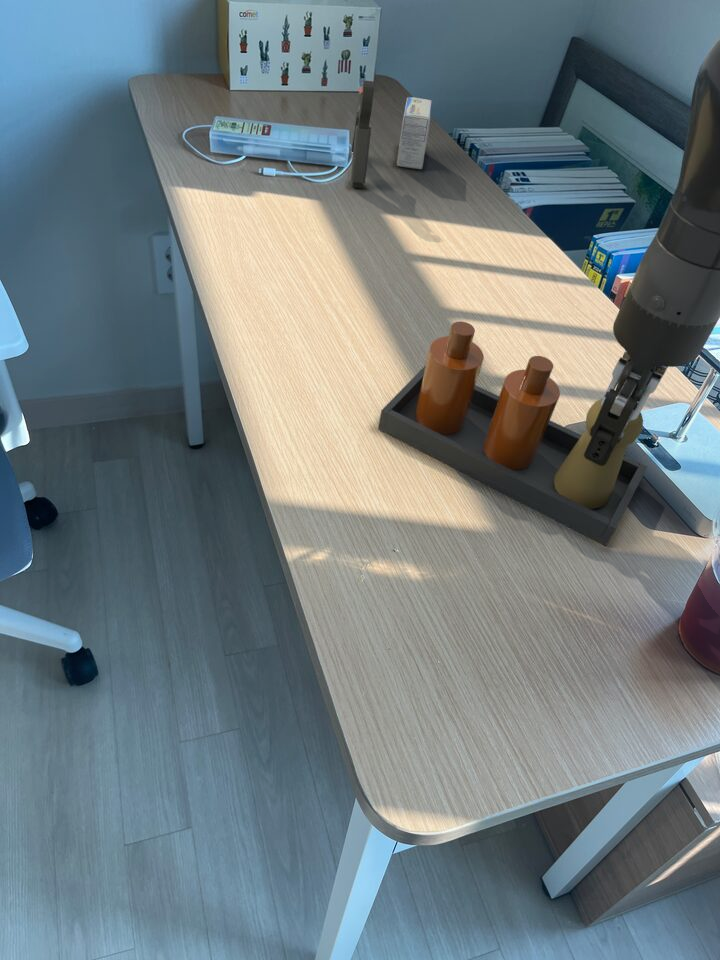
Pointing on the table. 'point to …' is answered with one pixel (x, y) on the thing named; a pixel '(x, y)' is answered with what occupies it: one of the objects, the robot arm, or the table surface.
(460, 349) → the amber bottle far
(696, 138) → the robot arm
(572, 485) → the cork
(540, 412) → the amber bottle middle
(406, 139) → the medicine box
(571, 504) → the tray
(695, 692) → the table surface
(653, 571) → the table surface
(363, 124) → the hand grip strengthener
